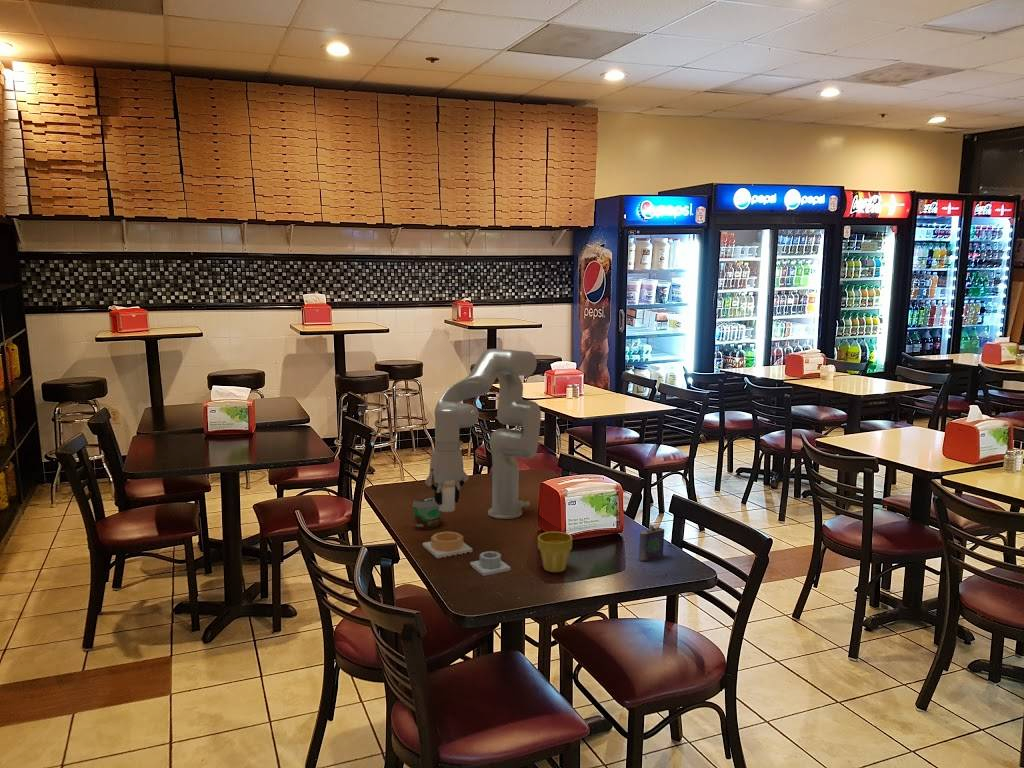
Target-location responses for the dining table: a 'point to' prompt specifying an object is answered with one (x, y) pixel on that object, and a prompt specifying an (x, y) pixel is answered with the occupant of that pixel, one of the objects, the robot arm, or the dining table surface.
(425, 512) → the food container
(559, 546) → the plant pot
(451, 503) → the beige peg
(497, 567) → the narrow socket
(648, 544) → the flask
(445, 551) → the wide socket
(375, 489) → the dining table surface
